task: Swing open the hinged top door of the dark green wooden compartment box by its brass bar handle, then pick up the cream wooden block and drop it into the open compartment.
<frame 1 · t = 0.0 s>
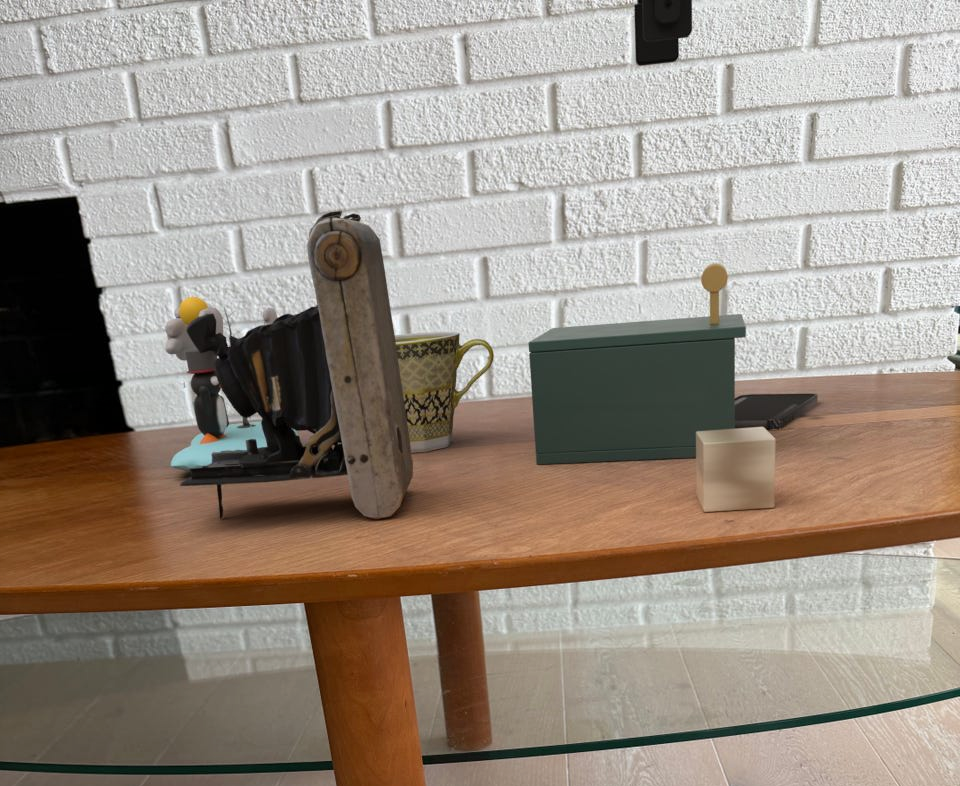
hand: (662, 51, 72), 29 cm above the table, tool pointing down, fingers open, 9 cm apart
penguin figurine: (239, 461, 98), on the table
lid: (639, 304, 83), point 12 cm above the table, hinge at 0.0°
chest: (638, 445, 87), on the table
phone: (759, 420, 96), on the table
block: (734, 502, 66), on the table
vintage camera: (307, 514, 74), on the table
ceramic cup: (432, 447, 96), on the table
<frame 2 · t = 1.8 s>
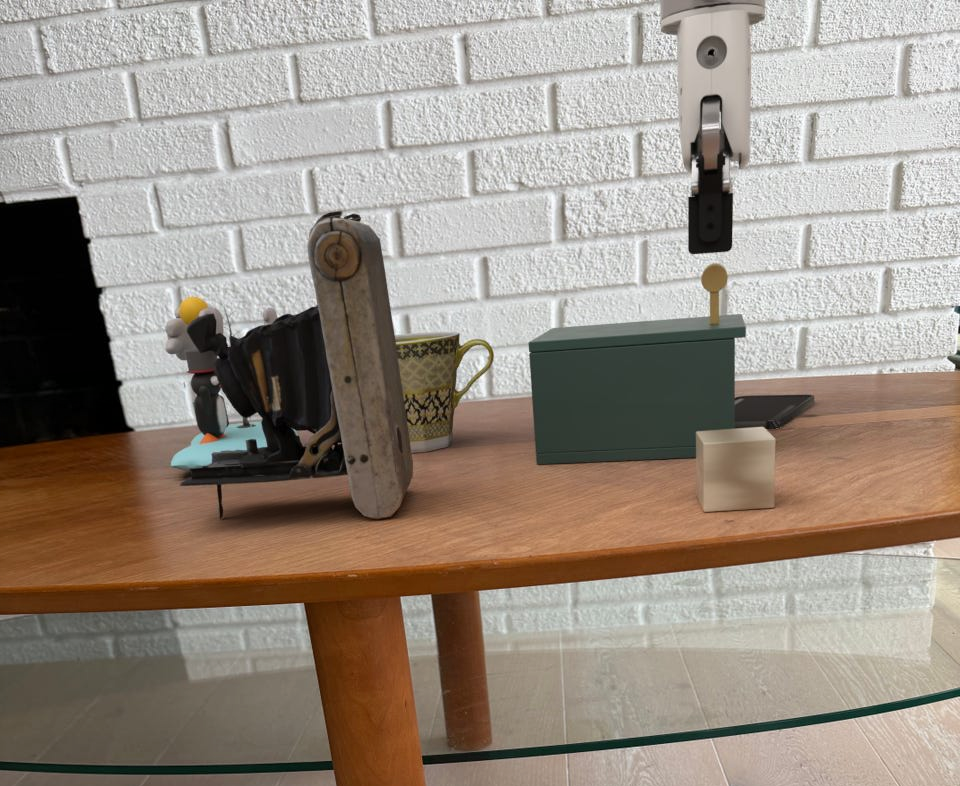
hand: (710, 251, 80), 15 cm above the table, tool pointing down, fingers open, 9 cm apart
nothing on the table moved.
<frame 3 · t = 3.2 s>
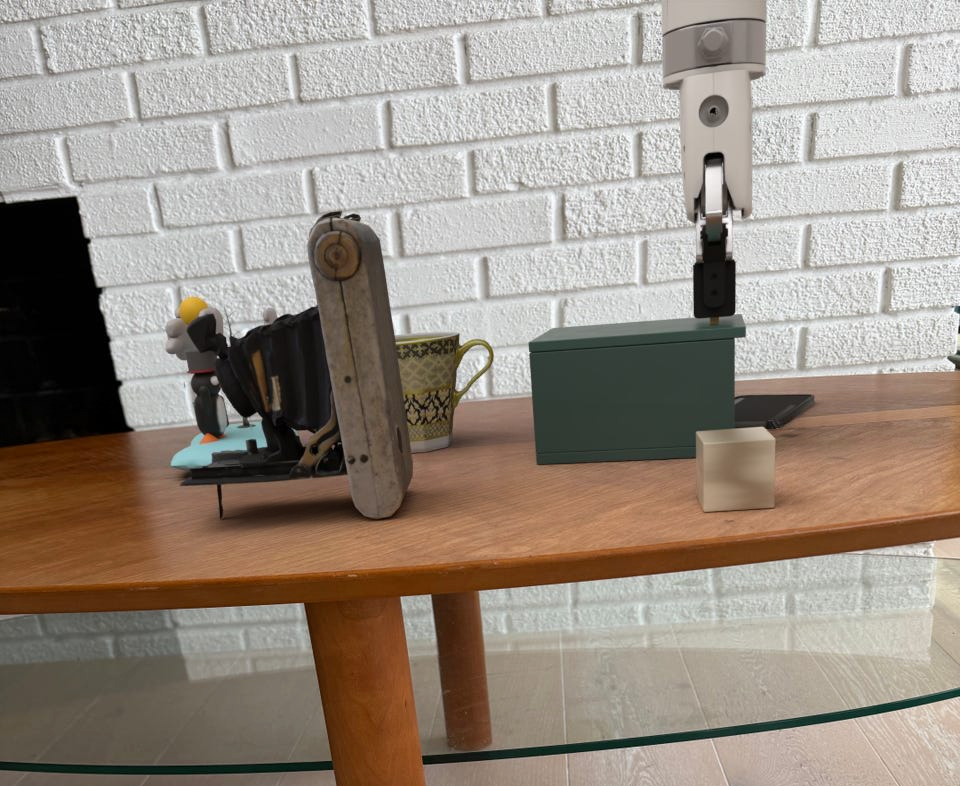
hand: (714, 311, 82), 11 cm above the table, tool pointing down, fingers closed on lid, 5 cm apart
lid: (639, 304, 83), point 12 cm above the table, hinge at 0.0°, touching gripper
everything else where it was.
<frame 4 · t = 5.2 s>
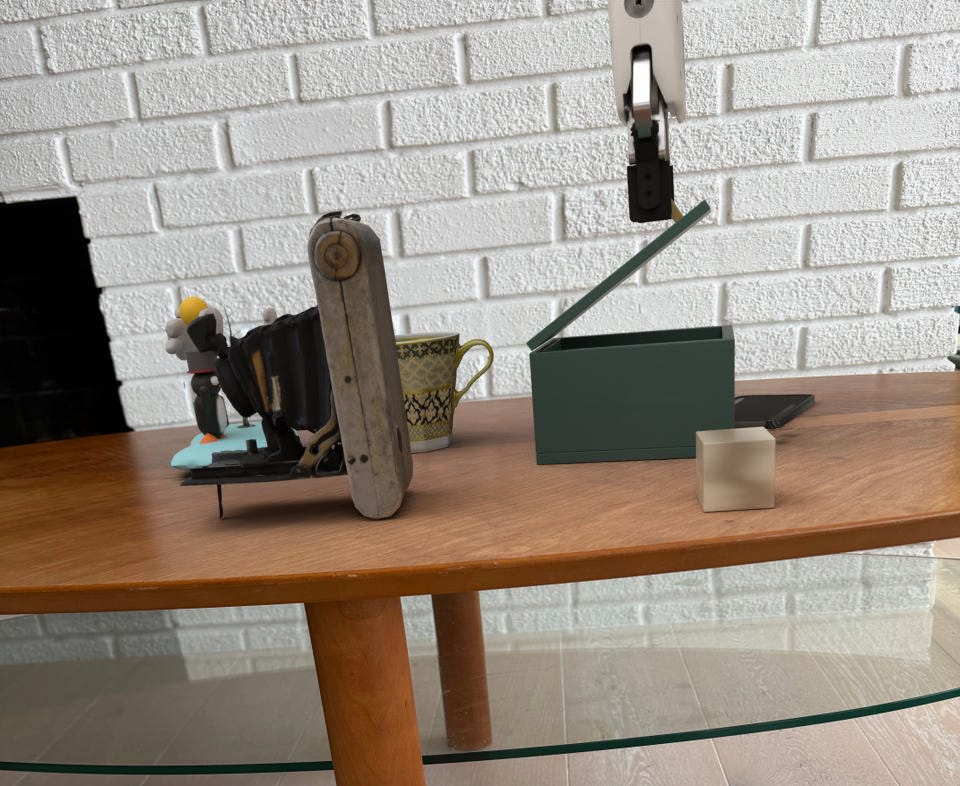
hand: (652, 218, 80), 18 cm above the table, tool pointing down, fingers closed on lid, 5 cm apart
lid: (605, 252, 82), point 16 cm above the table, hinge at 33.4°, touching gripper
everything else where it was.
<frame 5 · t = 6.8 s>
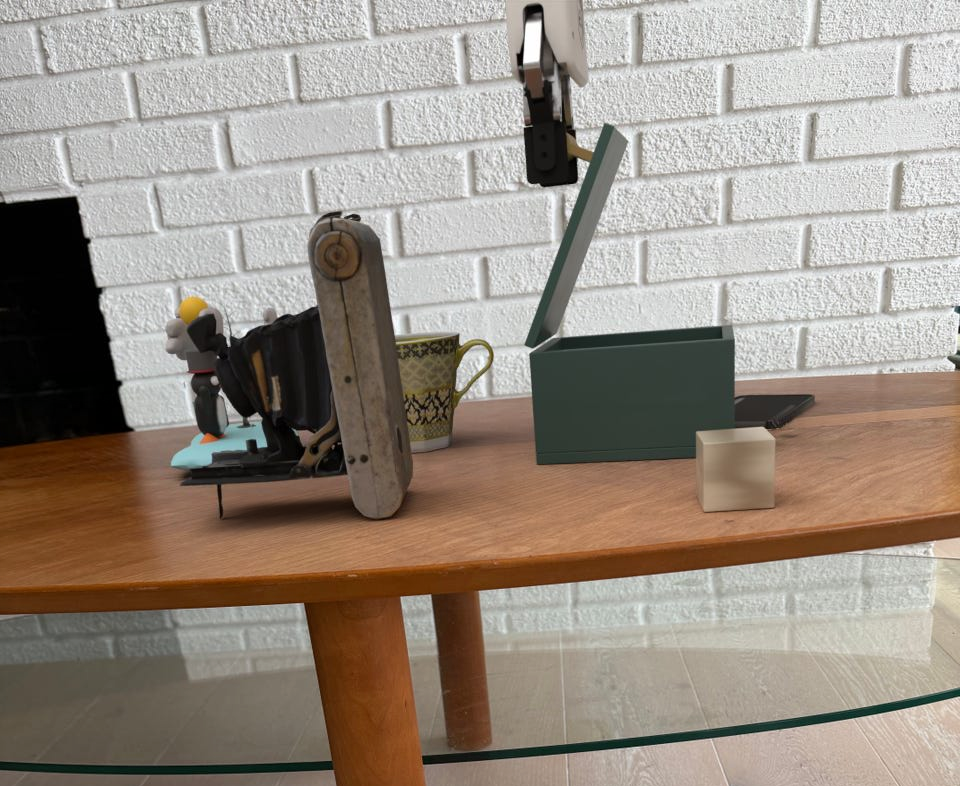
hand: (553, 181, 81), 21 cm above the table, tool pointing down, fingers closed on lid, 5 cm apart
lid: (552, 230, 82), point 18 cm above the table, hinge at 65.1°, touching gripper
everything else where it was.
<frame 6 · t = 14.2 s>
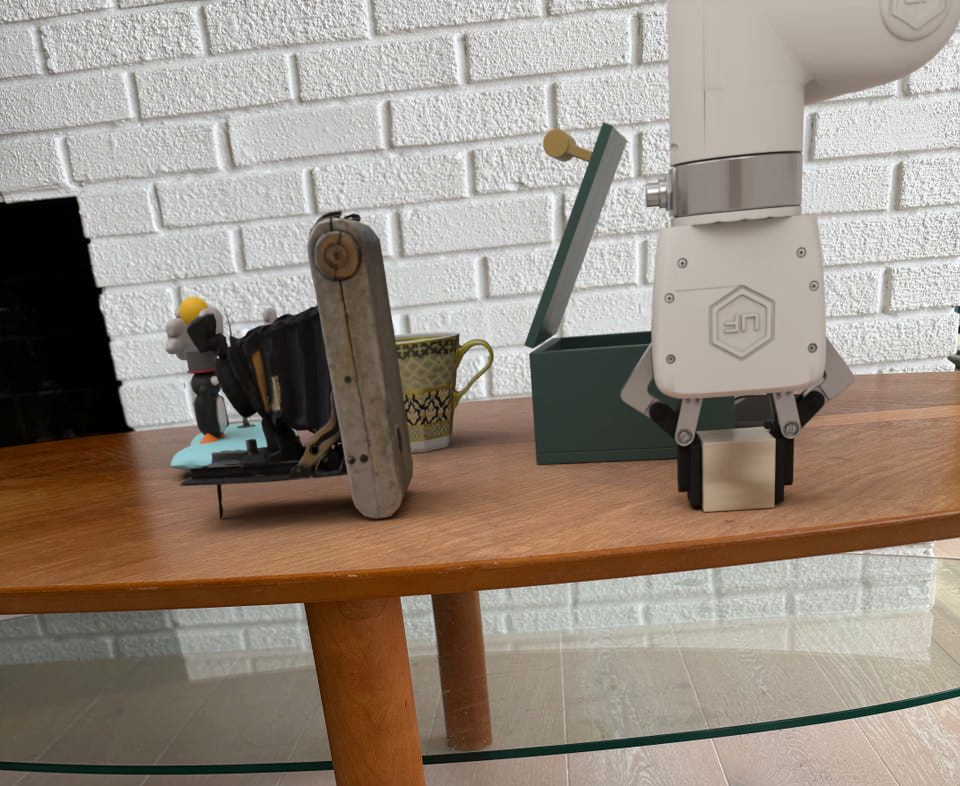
hand: (734, 496, 66), 0 cm above the table, tool pointing down, fingers closed on block, 4 cm apart
lid: (552, 230, 82), point 18 cm above the table, hinge at 65.5°
block: (734, 502, 66), on the table, touching gripper
everything else where it was.
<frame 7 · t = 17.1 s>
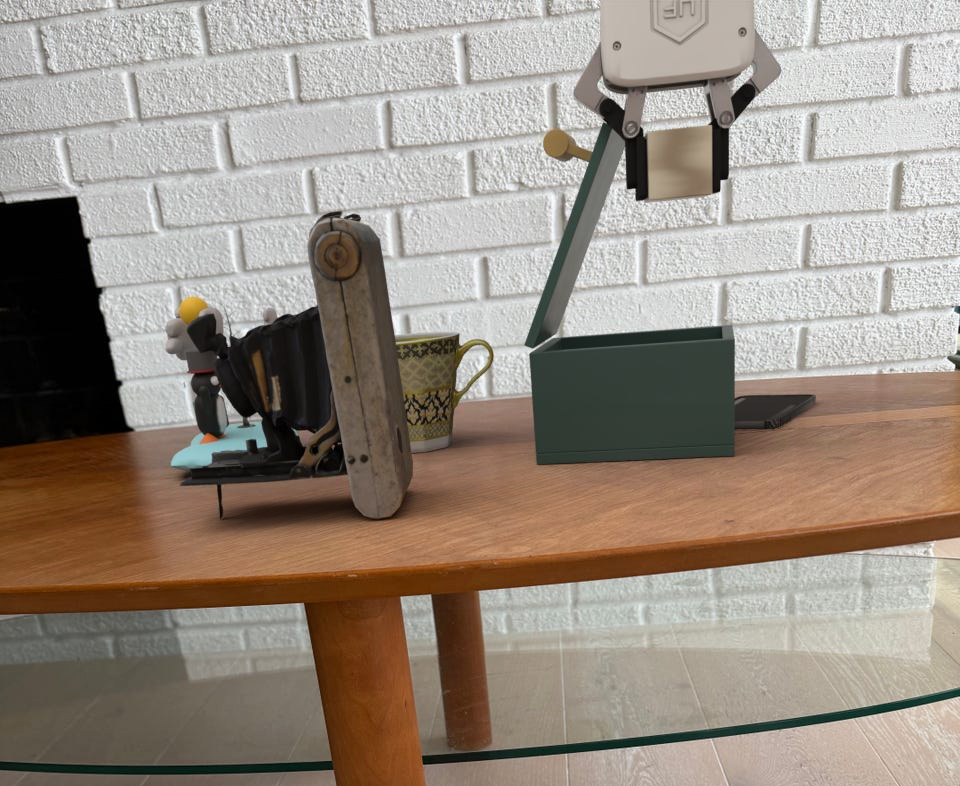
hand: (677, 193, 73), 19 cm above the table, tool pointing down, fingers closed on block, 4 cm apart
lid: (552, 230, 82), point 18 cm above the table, hinge at 65.5°, touching gripper
block: (677, 198, 73), point 19 cm above the table, touching gripper
everything else where it was.
when the fingers open (8 cm above the table, at t = 20.9 s): block drops 6 cm, resting on chest.
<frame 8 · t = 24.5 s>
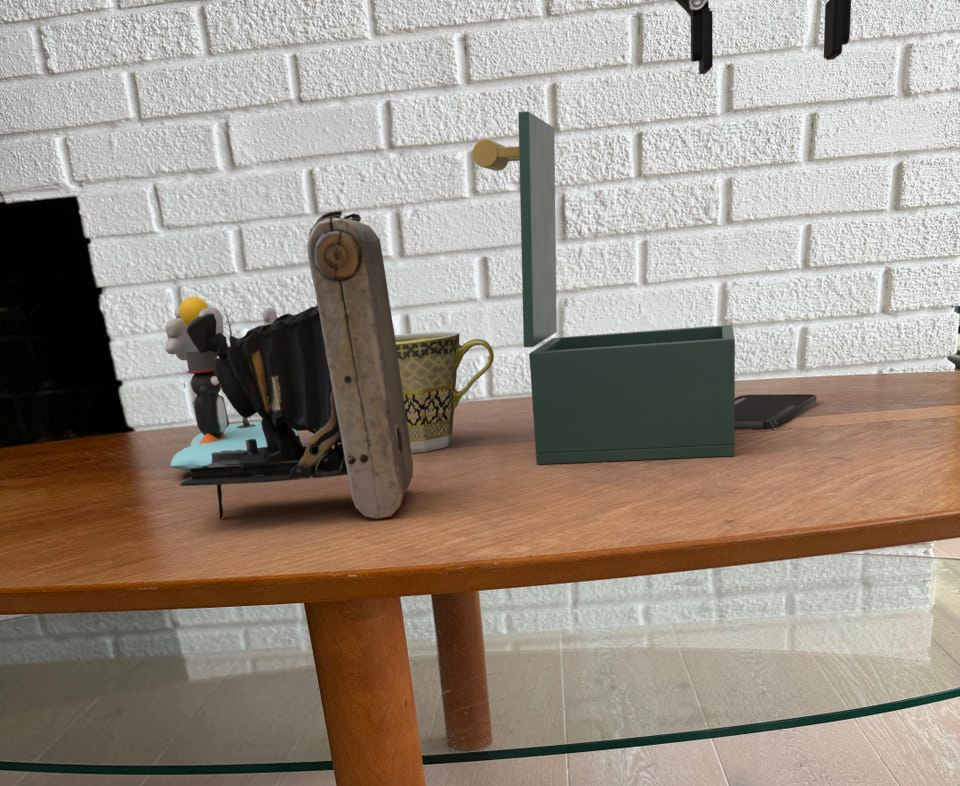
hand: (768, 64, 78), 28 cm above the table, tool pointing down, fingers open, 9 cm apart
lid: (513, 235, 83), point 18 cm above the table, hinge at 87.2°
block: (652, 434, 86), point 1 cm above the table, touching chest
everything else where it was.
at the end: lid at +87° (first picture: +0°); block inside the target area in the chest (1.2 cm from its centre), point 0.9 cm above the chest's base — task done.
